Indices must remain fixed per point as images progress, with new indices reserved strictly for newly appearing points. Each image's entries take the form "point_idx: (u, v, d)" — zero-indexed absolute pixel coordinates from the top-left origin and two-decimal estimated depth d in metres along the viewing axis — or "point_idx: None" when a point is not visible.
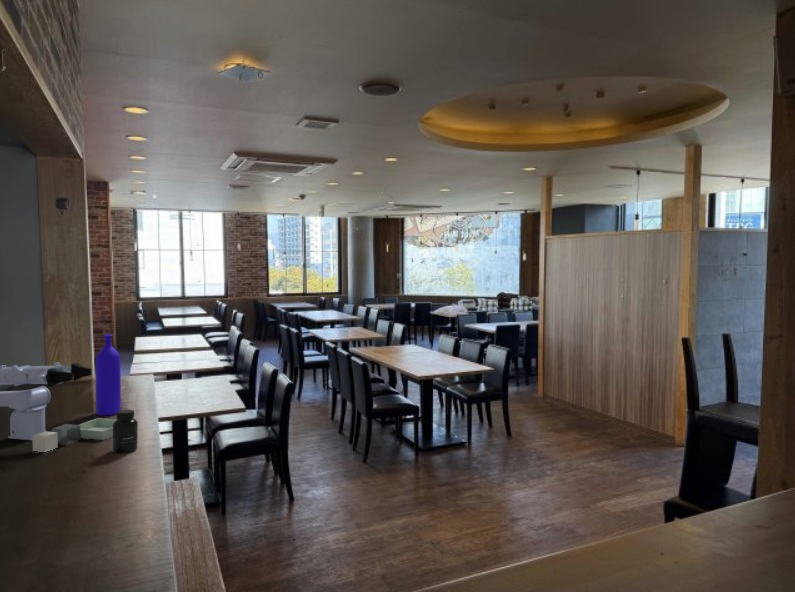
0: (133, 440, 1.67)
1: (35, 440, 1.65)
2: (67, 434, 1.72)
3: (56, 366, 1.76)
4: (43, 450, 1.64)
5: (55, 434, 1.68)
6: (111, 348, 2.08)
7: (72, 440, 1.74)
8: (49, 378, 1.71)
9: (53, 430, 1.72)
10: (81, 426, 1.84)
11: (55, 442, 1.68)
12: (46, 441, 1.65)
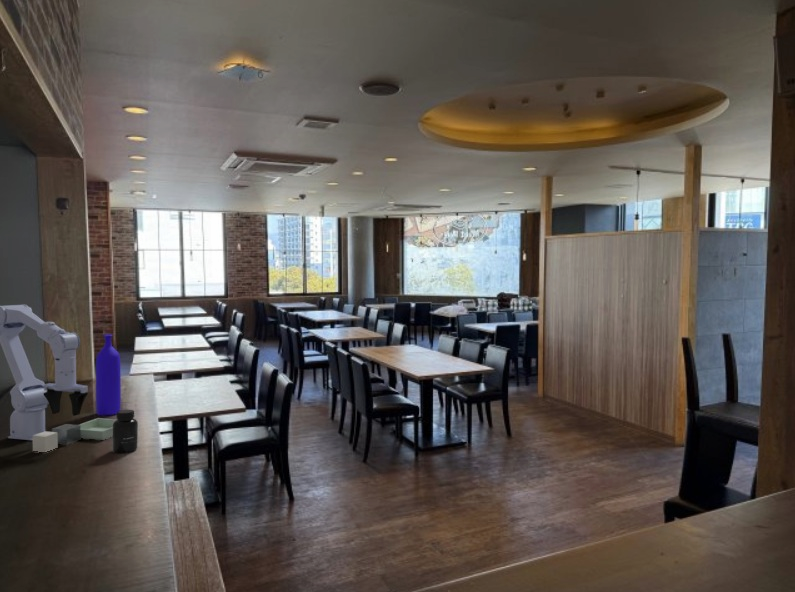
0: (133, 440, 1.67)
1: (35, 440, 1.65)
2: (67, 434, 1.72)
3: None
4: (43, 450, 1.64)
5: (55, 434, 1.68)
6: (111, 348, 2.08)
7: (72, 440, 1.74)
8: None
9: (53, 430, 1.72)
10: (81, 426, 1.84)
11: (55, 442, 1.68)
12: (46, 441, 1.65)
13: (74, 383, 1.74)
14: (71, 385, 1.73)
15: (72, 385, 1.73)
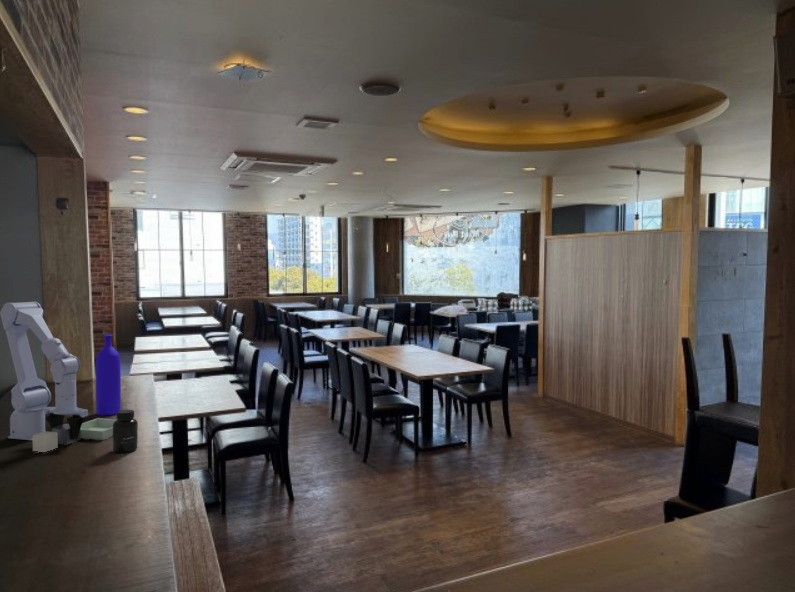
0: (133, 440, 1.67)
1: (35, 440, 1.65)
2: (67, 433, 1.72)
3: None
4: (43, 450, 1.64)
5: (55, 434, 1.68)
6: (111, 348, 2.08)
7: (72, 440, 1.74)
8: None
9: (53, 430, 1.72)
10: (81, 426, 1.84)
11: (55, 442, 1.68)
12: (46, 441, 1.65)
13: (75, 407, 1.74)
14: (71, 409, 1.73)
15: (72, 409, 1.73)
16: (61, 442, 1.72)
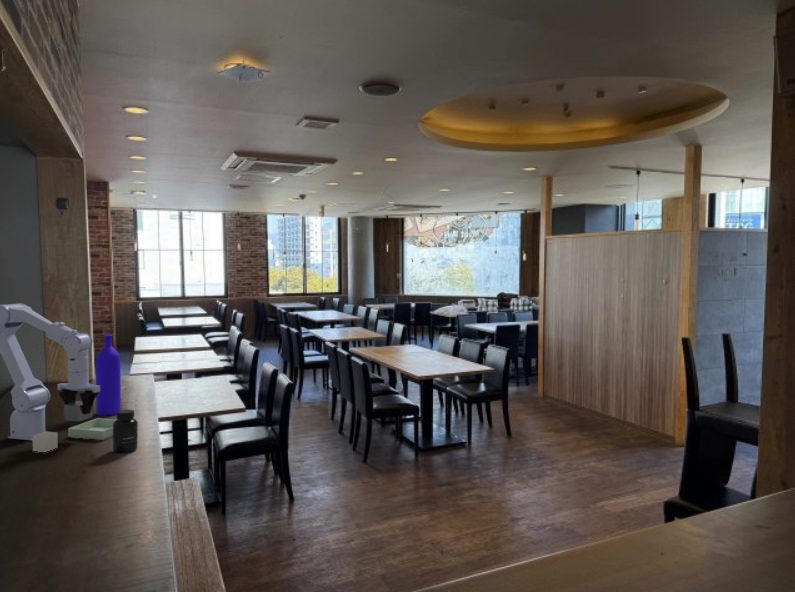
0: (133, 440, 1.67)
1: (35, 440, 1.65)
2: (80, 410, 1.75)
3: None
4: (43, 450, 1.64)
5: (55, 434, 1.68)
6: (111, 348, 2.08)
7: (84, 416, 1.76)
8: None
9: (65, 406, 1.75)
10: (81, 426, 1.84)
11: (55, 442, 1.68)
12: (46, 441, 1.65)
13: (87, 382, 1.77)
14: (84, 385, 1.76)
15: (85, 385, 1.76)
16: (73, 418, 1.75)
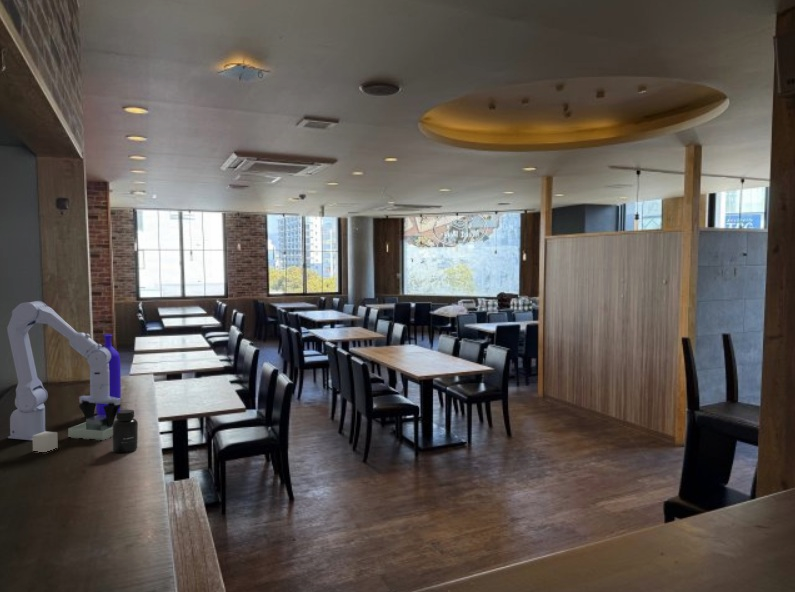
0: (133, 440, 1.67)
1: (35, 440, 1.65)
2: (101, 424, 1.81)
3: None
4: (43, 450, 1.64)
5: (55, 434, 1.68)
6: (111, 348, 2.08)
7: None
8: None
9: (87, 420, 1.81)
10: (81, 426, 1.84)
11: (55, 442, 1.68)
12: (46, 441, 1.65)
13: (108, 395, 1.84)
14: (105, 397, 1.82)
15: (106, 397, 1.83)
16: None
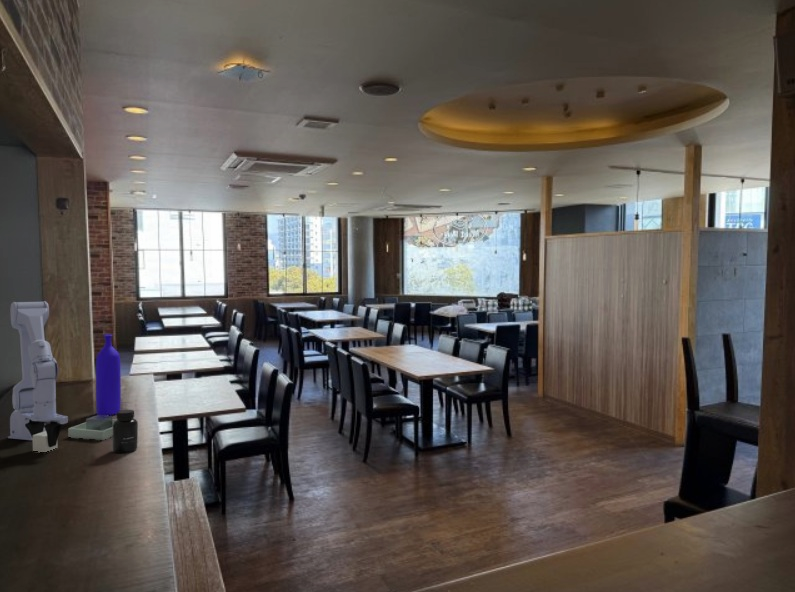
0: (133, 440, 1.67)
1: (35, 440, 1.65)
2: (101, 424, 1.81)
3: None
4: (43, 450, 1.64)
5: None
6: (111, 348, 2.08)
7: None
8: None
9: (87, 420, 1.81)
10: (81, 426, 1.84)
11: None
12: (46, 441, 1.65)
13: (54, 413, 1.66)
14: (50, 415, 1.65)
15: (51, 415, 1.65)
16: None
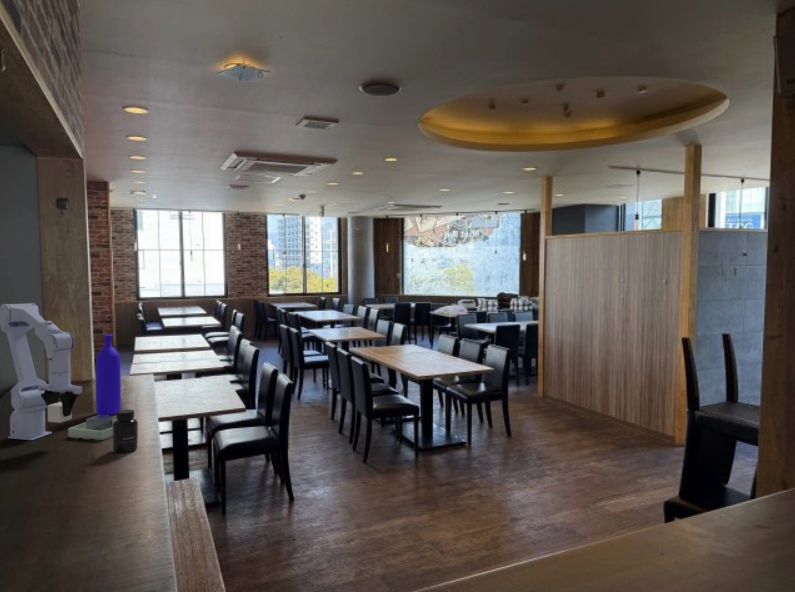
0: (133, 440, 1.67)
1: (50, 410, 1.69)
2: (101, 424, 1.81)
3: None
4: (58, 419, 1.68)
5: None
6: (111, 348, 2.08)
7: None
8: None
9: (87, 420, 1.81)
10: (81, 426, 1.84)
11: None
12: (61, 411, 1.69)
13: (69, 383, 1.71)
14: (65, 386, 1.69)
15: (66, 386, 1.70)
16: None
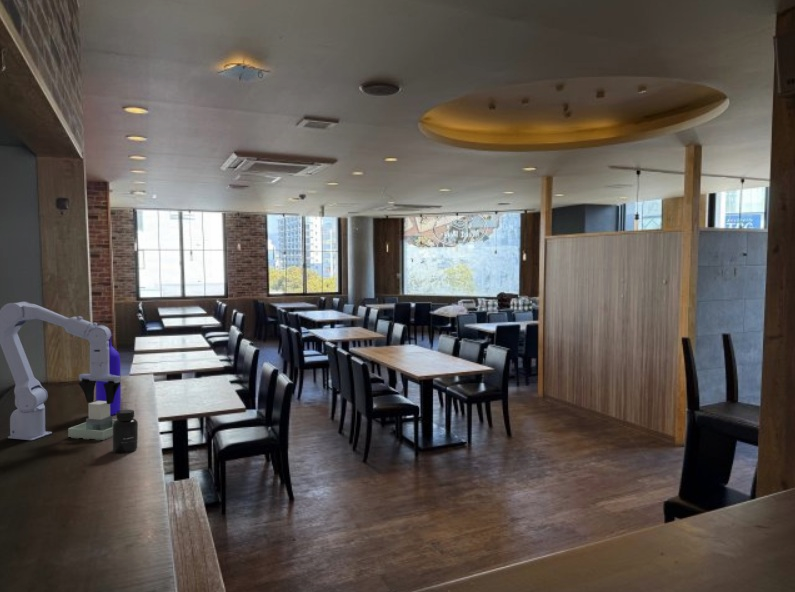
0: (133, 440, 1.67)
1: (91, 408, 1.82)
2: (101, 424, 1.81)
3: None
4: (98, 417, 1.81)
5: None
6: (111, 348, 2.08)
7: None
8: None
9: (87, 420, 1.81)
10: (81, 426, 1.84)
11: (108, 410, 1.84)
12: (101, 409, 1.81)
13: (108, 373, 1.83)
14: (105, 375, 1.82)
15: (106, 375, 1.82)
16: None
